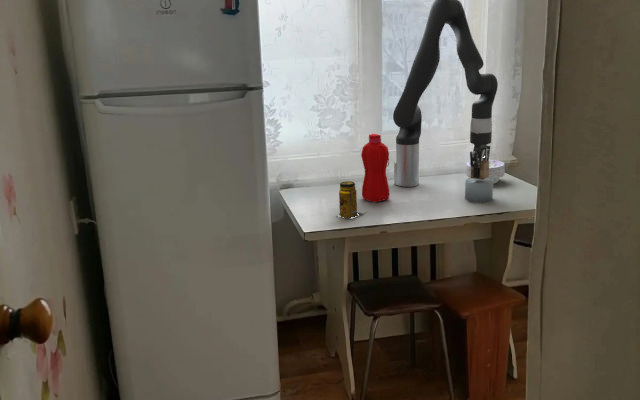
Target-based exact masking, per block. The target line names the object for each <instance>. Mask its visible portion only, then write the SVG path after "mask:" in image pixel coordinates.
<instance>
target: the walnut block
mask: <svg viewBox="0 0 640 400" xmlns="http://www.w3.org/2000/svg"><path fill="white" fill-rule="evenodd" d="M475 164H476V163H475ZM473 170H474V167H471V178H473V179H482V180H484V179H486V178H487V177H489V161H484V160H483V161H482V162H481V163H480V177H479V178H474V177H473Z"/></svg>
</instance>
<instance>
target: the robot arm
mask: <svg viewBox="0 0 640 400" xmlns="http://www.w3.org/2000/svg"><path fill="white" fill-rule="evenodd" d="M445 25H448V26H449V27H450V28H451V29H452V31H453V34H454V36H455V41H456V44H455V45H456V54H457V56H458V59H459V61H460V63H461V66H462V68H463V70H464V75H465V81H466V86H467V89H468V91H469V92H470V93H471V94H473V95H474V96H479V99H477V100H475V101H474V102H472V104H471V120H470V131H469V132H470V134H469V143H470V144H472V145H474V147H473V150H471V151H470V152H469V159H470V160H469V162H470V163H471V167H474V170H473V177H474V178H479V177H480V163H481V162H482V161H483V160H484V161H489V160H490V154H491V153H490V152H491V145H490V144H492V139H493V138H492V136H493V135H492V134H493V121H492V117H493V116H492V115H493V104H494V102H495V99H496V95H497V92H498V88H499V87H498V85H499V84H498V78H497V77H496V75H494V74H493V73H480V70H481V69H482V68H483V67H484V60H483V58H482V56H481V54H480V52H479V50H478V47H477V45H476V43H475V41H474V39H473V36H472V33H471V29H470V26H469V22H468V19H467V16H466V11H465V8H464V6H463V4H462V3H461V1H460V0H434V1H433V2H432V5H431V6H430V9H429V13H428V17H427V21H426V23H425V27H424V31H423V35H422V37H421V41H420V44H419V47H418V49H417V52H416V54H415V57H414V58H413V59H414V60H413V61H412V62H413V63H412V65H411V69H410V70H409V71H410V72H409V74H408V77H407V79H406V82H405V85H404V89H403V92H402V94H401V96H400V98H399V99H398V102H397V104H396V106H395V108H394V110H393V113H392V120H393V122H394V124H395V125H396V126H397V127H398V128H399V130H398V134H397V135H396V136H395V137H396V138H395V161H394V162H393V177H394V178H393V184H394V185H397V186H399V187H404V188H405V187H406V188H409V187H417V186H419V184H420V138H421V135H422V119H423V118H422V110H421V108H420V106H419V101H420V99H421V97H422V95H423V93H424V92H425V91H426V90H427V88H428V87H429V86H430V83H431V82H432V80H433V79H434V77H435V74H436V72H437V69H438V68H439V67H438V66H439V64H440V61H441V51H440V50H441V49H440V40H441V39H440V38H441V35H442V32H443V29H444V27H445ZM475 163H476V164H475Z"/></svg>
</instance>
